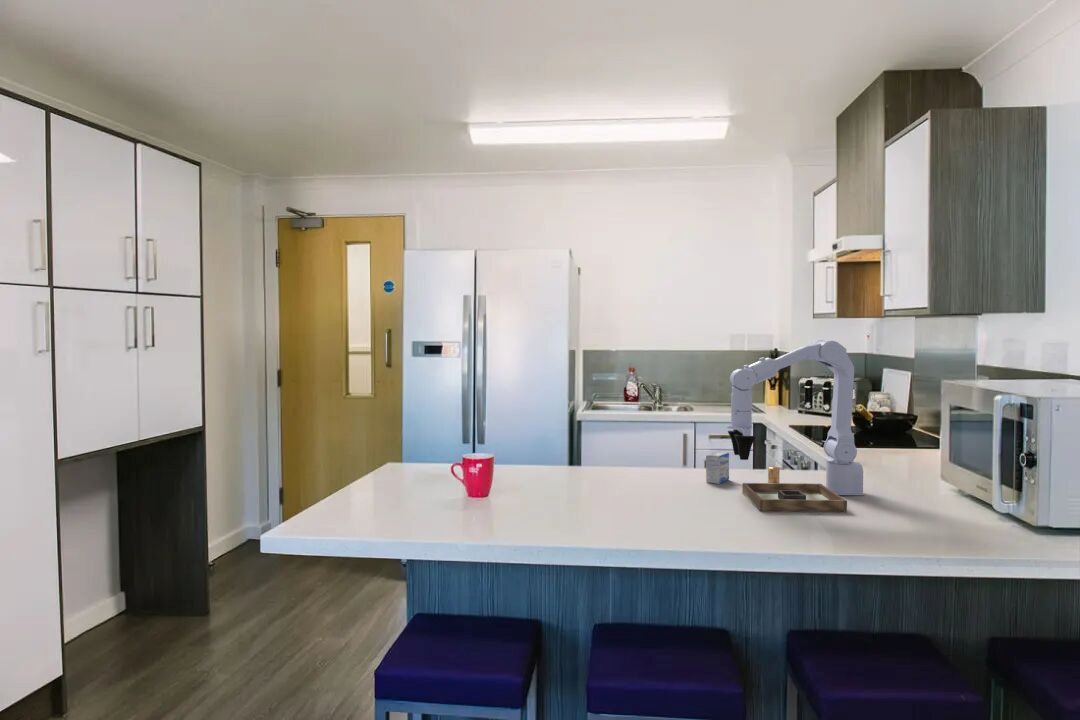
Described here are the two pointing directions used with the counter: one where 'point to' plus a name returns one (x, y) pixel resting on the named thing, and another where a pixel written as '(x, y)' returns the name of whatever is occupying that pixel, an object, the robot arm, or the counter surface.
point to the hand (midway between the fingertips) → (741, 457)
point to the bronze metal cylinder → (773, 474)
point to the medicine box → (717, 467)
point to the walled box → (793, 497)
